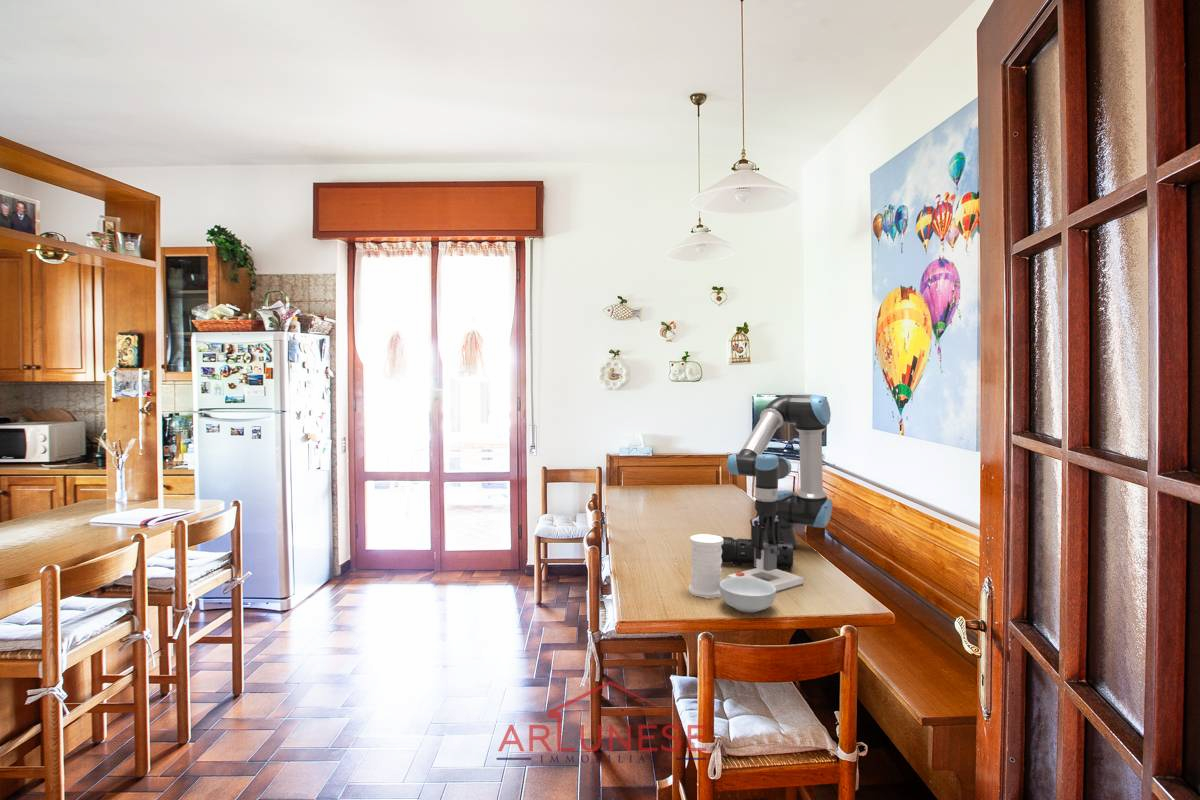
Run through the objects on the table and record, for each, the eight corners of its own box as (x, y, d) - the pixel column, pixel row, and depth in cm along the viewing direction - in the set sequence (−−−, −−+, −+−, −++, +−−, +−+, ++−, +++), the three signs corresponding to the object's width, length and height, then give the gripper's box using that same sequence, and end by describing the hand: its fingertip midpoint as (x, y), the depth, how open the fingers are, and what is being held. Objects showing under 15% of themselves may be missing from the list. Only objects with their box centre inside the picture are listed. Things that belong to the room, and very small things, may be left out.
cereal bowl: (736, 621, 176) (736, 597, 175) (710, 601, 192) (710, 579, 191) (786, 615, 180) (787, 591, 180) (757, 596, 196) (757, 574, 196)
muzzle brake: (793, 573, 220) (793, 545, 220) (715, 566, 227) (715, 539, 227) (791, 565, 229) (791, 538, 229) (716, 559, 236) (716, 533, 236)
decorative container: (681, 589, 202) (681, 536, 201) (708, 584, 207) (709, 532, 207) (703, 600, 192) (704, 544, 191) (731, 594, 197) (732, 540, 197)
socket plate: (766, 572, 220) (766, 563, 220) (803, 584, 207) (803, 575, 207) (727, 582, 209) (727, 572, 209) (763, 596, 196) (763, 586, 196)
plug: (754, 566, 209) (754, 543, 209) (762, 564, 212) (763, 541, 211) (773, 573, 202) (773, 549, 202) (782, 570, 205) (782, 547, 204)
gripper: (757, 504, 199) (756, 574, 200) (792, 498, 209) (790, 565, 210) (740, 500, 205) (739, 568, 206) (774, 495, 215) (773, 560, 216)
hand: (765, 566), depth 208 cm, fingers closed on plug, 4 cm apart
